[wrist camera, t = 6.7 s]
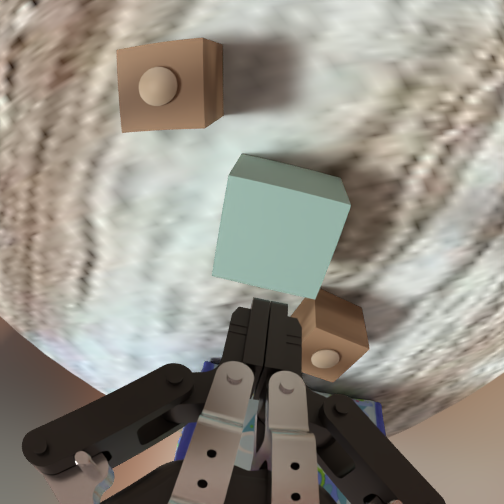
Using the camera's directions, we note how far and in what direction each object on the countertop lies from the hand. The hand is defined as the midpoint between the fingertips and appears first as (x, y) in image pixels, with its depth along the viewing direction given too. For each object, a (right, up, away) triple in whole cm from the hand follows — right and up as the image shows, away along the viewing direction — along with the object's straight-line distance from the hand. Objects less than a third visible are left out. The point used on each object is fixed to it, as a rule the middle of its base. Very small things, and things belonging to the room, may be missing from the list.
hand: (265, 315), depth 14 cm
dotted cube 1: (+6, -3, +14) cm, 16 cm away
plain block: (+1, +6, +10) cm, 11 cm away
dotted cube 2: (-5, +14, +5) cm, 16 cm away
